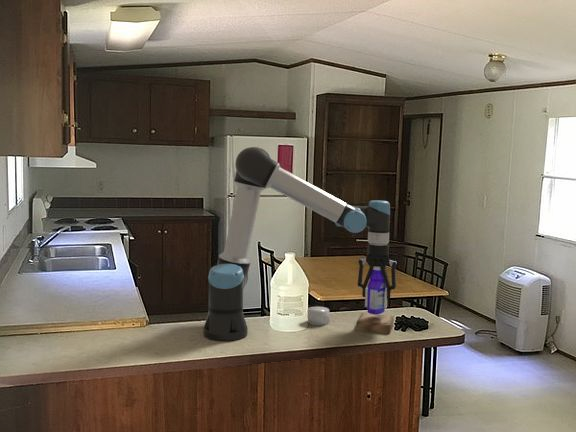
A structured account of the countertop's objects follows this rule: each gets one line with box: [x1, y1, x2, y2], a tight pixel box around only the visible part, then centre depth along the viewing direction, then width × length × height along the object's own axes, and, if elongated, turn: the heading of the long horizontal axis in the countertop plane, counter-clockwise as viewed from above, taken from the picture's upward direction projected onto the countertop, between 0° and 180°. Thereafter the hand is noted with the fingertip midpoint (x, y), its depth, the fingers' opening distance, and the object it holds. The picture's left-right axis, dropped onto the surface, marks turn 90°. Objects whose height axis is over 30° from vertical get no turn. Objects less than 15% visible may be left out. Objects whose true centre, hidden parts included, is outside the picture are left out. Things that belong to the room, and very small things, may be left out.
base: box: [355, 312, 395, 334], centre depth 219 cm, size 12×12×3 cm
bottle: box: [366, 266, 387, 315], centre depth 218 cm, size 7×6×17 cm
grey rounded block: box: [307, 306, 330, 326], centre depth 223 cm, size 8×8×5 cm
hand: (375, 306), depth 218 cm, fingers closed on bottle, 6 cm apart
